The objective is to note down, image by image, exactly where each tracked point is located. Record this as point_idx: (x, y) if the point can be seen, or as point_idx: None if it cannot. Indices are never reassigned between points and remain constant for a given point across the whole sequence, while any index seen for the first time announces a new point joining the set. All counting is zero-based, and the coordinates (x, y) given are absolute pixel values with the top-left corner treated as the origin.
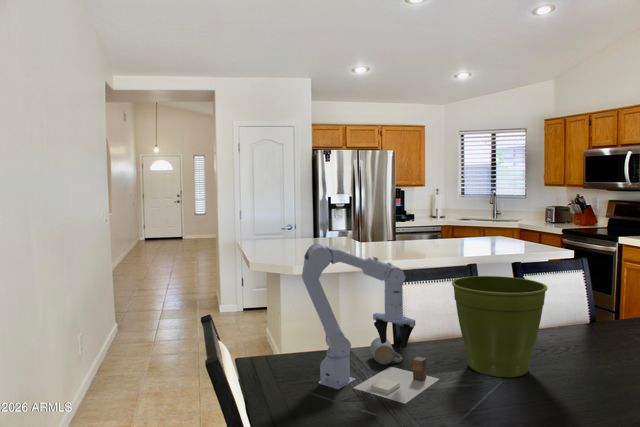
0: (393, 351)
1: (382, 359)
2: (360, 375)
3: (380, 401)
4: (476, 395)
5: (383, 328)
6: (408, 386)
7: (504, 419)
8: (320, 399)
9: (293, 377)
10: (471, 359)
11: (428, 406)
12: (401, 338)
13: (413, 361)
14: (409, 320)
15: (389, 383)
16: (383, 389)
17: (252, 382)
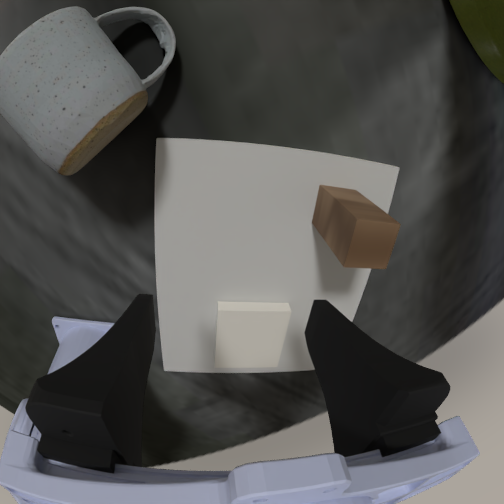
0: (138, 95)
1: (104, 143)
2: (107, 280)
3: (268, 381)
4: (480, 227)
5: (134, 407)
6: (314, 286)
7: (497, 299)
8: (145, 420)
9: (12, 365)
10: (493, 43)
11: (383, 342)
12: (323, 391)
13: (341, 261)
14: (432, 478)
15: (260, 333)
16: (260, 366)
17: (3, 401)
